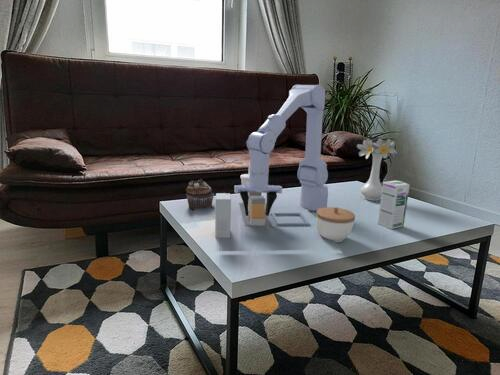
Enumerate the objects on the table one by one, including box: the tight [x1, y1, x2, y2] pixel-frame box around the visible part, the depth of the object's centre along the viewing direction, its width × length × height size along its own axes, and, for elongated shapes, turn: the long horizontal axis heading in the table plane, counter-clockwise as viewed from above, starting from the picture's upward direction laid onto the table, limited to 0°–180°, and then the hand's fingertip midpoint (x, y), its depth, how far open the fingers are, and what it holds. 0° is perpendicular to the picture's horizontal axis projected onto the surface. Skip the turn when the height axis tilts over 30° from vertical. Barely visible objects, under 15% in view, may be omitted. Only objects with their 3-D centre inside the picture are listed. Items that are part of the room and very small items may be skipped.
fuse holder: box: [238, 202, 272, 227], centre depth 116 cm, size 8×23×3 cm, turn 7°
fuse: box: [248, 193, 262, 210], centre depth 115 cm, size 4×4×8 cm
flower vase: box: [356, 137, 399, 202], centre depth 139 cm, size 13×18×25 cm
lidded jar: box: [315, 206, 356, 243], centre depth 99 cm, size 11×11×9 cm
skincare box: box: [214, 192, 232, 239], centre depth 97 cm, size 6×4×12 cm
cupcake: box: [185, 178, 215, 211], centre depth 121 cm, size 10×10×10 cm
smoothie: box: [240, 163, 250, 185], centre depth 132 cm, size 6×6×14 cm
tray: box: [271, 212, 310, 227], centre depth 111 cm, size 10×10×2 cm
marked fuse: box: [250, 195, 266, 223], centre depth 107 cm, size 4×4×8 cm
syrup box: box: [377, 180, 411, 230], centre depth 111 cm, size 6×6×14 cm
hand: (257, 214), depth 108 cm, fingers open, 6 cm apart
